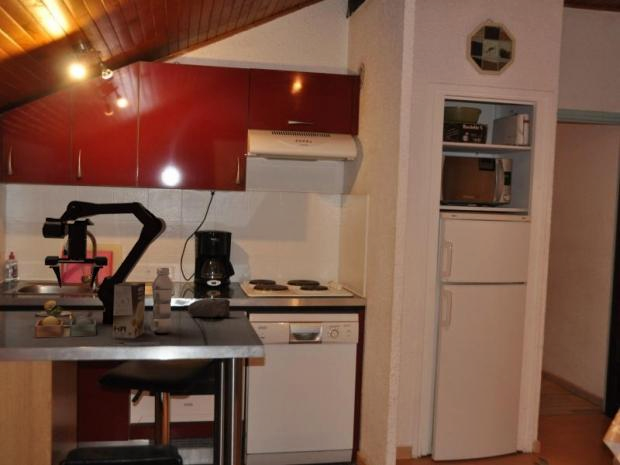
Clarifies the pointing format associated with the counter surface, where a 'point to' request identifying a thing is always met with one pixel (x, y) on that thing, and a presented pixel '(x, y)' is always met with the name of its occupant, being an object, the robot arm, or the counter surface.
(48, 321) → the ochre ball
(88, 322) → the slate ball
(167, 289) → the plastic bottle
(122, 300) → the coffee box
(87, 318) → the slate ball
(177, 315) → the counter surface
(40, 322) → the wooden sorting board
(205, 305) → the perforated stone tool
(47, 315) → the burger
